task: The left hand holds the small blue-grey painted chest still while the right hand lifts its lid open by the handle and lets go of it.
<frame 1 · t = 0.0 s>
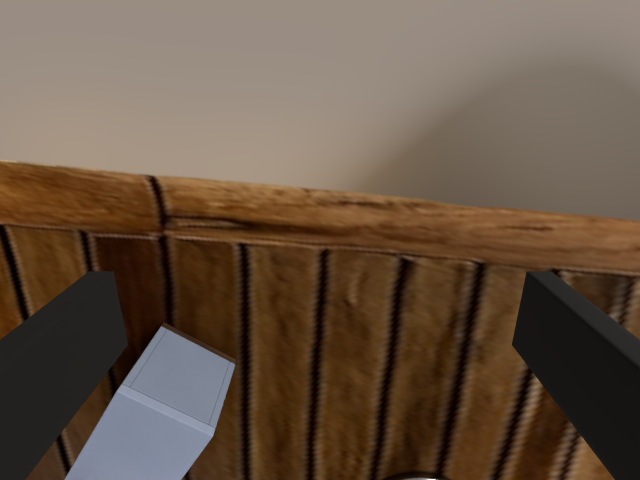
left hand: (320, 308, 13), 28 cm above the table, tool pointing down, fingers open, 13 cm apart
chest: (168, 391, 49), on the table
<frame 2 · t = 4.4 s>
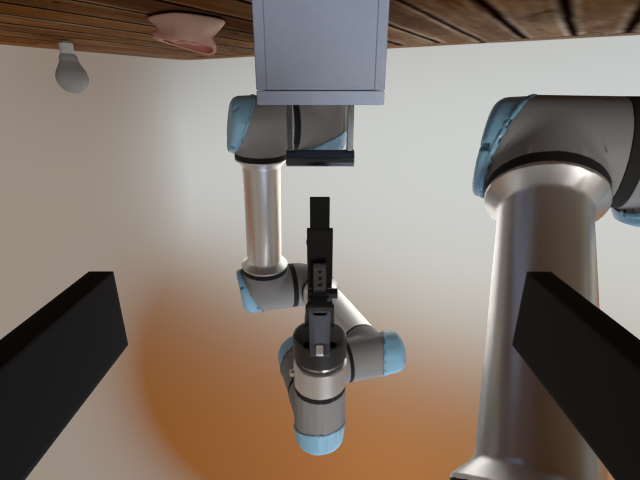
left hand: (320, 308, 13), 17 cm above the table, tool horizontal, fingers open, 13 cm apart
light bulb: (64, 39, 81), on the table
lid: (320, 135, 39), point 14 cm above the table, hinge at 0.0°
anatomical model: (187, 19, 59), on the table
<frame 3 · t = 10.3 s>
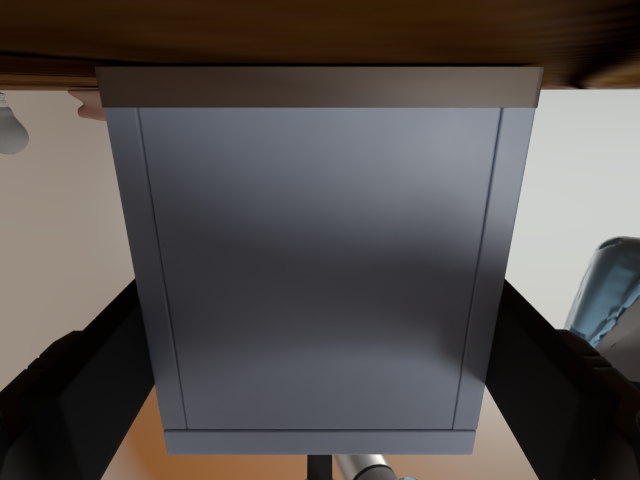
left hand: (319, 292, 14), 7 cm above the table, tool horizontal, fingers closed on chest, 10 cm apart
chest: (319, 79, 17), on the table, touching left hand
lid: (319, 357, 22), point 14 cm above the table, hinge at 0.0°
anatomical model: (131, 87, 41), on the table
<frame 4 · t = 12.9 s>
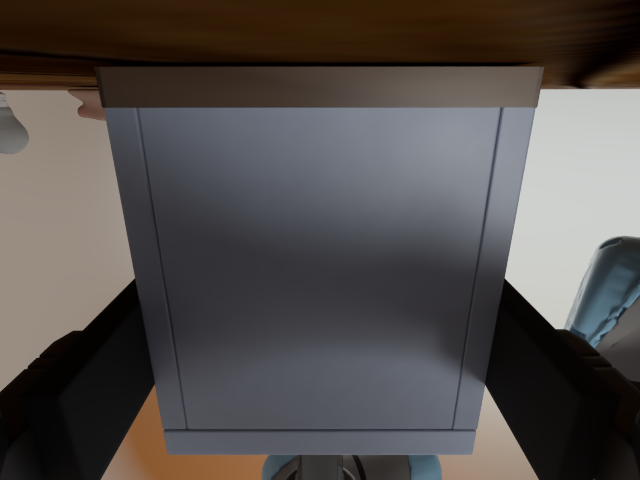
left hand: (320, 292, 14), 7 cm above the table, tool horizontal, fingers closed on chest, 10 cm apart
chest: (319, 79, 17), on the table, touching left hand
lid: (319, 358, 22), point 14 cm above the table, hinge at 0.4°, touching right hand
anatomical model: (131, 87, 41), on the table
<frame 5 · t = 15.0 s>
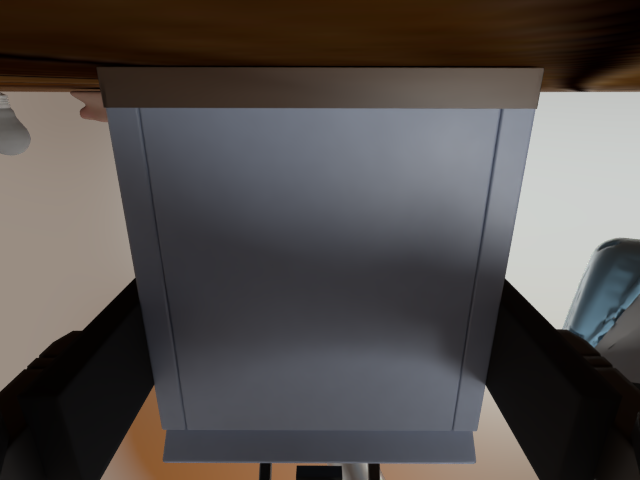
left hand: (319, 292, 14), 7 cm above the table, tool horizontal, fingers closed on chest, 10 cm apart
chest: (320, 81, 17), on the table, touching left hand
anatomical model: (133, 89, 41), on the table
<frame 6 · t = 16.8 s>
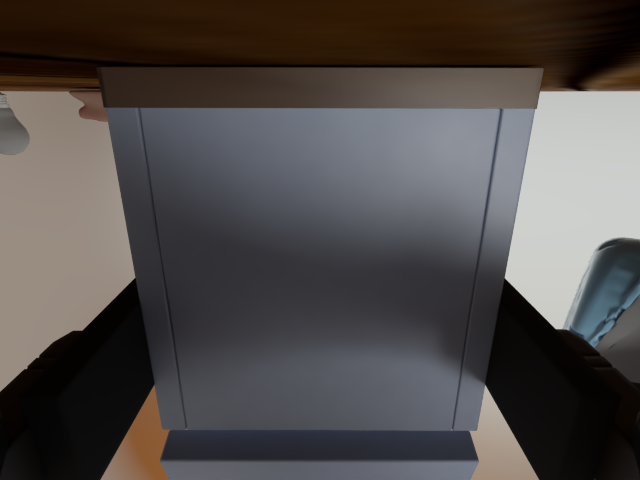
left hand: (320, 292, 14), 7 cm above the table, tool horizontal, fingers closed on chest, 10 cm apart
chest: (320, 81, 17), on the table, touching left hand
anatomical model: (132, 88, 41), on the table
when the left hand's fingers open (7 cm above the table, at t = 21.0 s): chest stays where it is, on the table.
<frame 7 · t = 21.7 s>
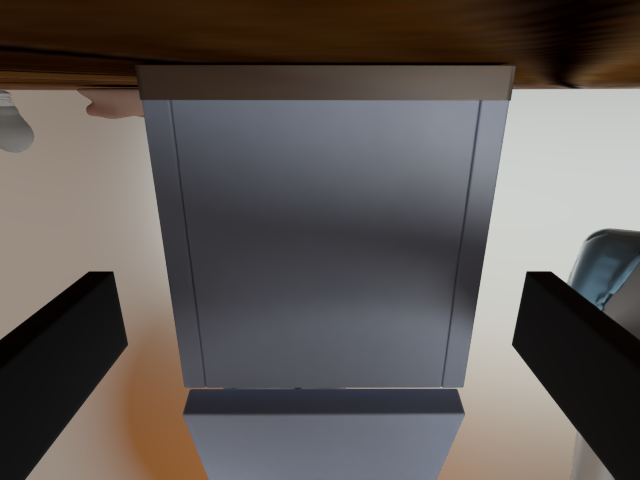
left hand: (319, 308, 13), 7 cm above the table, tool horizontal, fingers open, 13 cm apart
light bulb: (0, 89, 64), on the table
chest: (322, 77, 18), on the table
anatomical model: (137, 86, 43), on the table
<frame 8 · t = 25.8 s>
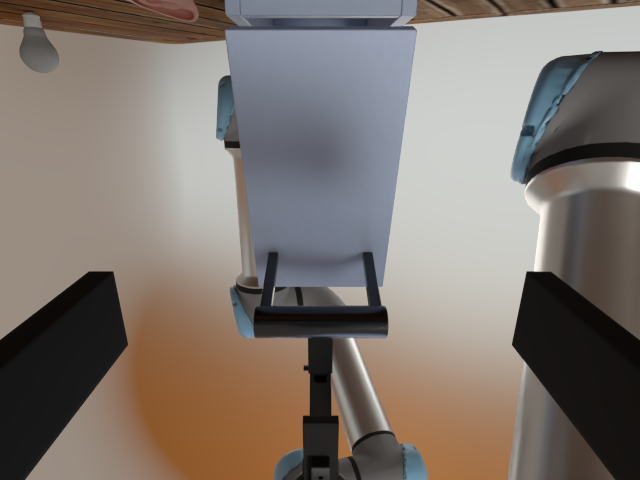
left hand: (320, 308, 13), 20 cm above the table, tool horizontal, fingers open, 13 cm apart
light bulb: (29, 11, 71), on the table
lid: (320, 213, 23), point 20 cm above the table, hinge at 72.9°
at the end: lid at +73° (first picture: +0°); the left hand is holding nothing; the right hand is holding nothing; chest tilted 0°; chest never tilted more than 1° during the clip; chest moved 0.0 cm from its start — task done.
